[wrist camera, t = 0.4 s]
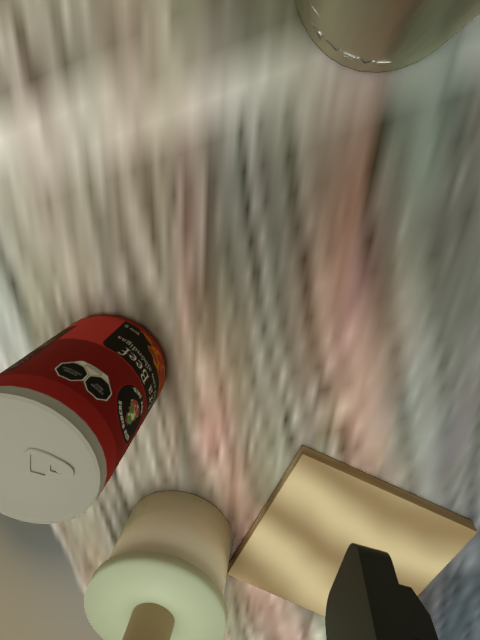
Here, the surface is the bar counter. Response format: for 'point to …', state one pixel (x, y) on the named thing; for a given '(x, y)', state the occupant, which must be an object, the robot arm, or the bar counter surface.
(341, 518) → the mat
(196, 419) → the bar counter surface
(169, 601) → the lid
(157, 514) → the crock
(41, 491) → the canned food
